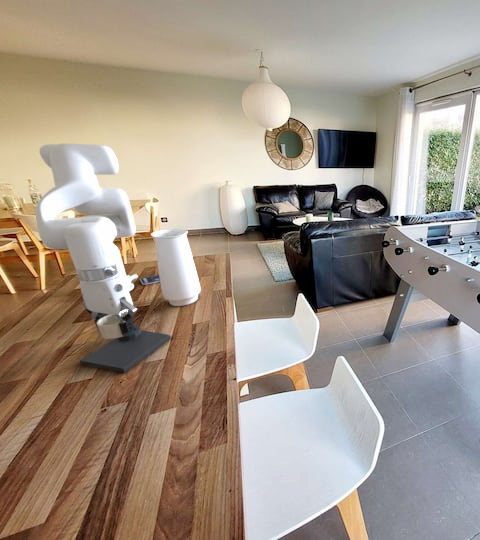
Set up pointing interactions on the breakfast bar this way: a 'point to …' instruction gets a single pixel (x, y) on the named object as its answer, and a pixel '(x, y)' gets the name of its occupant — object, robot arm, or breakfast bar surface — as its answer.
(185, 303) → the vase
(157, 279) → the smartphone
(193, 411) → the breakfast bar surface
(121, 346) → the scale
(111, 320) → the bowl
